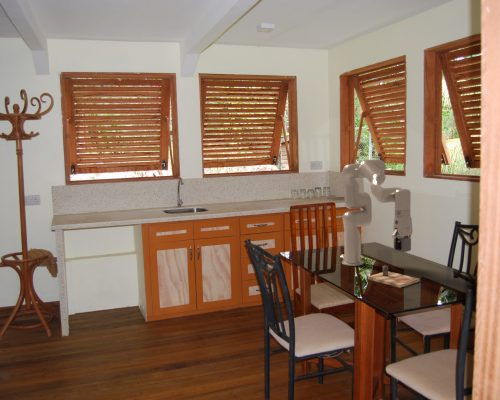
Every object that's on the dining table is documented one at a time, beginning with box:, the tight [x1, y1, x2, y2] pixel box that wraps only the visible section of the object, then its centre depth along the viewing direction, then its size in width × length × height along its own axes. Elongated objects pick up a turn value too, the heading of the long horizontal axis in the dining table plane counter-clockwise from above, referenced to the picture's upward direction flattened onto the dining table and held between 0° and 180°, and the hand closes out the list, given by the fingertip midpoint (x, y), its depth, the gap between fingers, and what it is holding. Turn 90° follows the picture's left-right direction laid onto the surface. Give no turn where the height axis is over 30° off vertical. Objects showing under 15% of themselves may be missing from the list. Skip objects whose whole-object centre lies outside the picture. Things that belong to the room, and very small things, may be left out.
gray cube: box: [393, 237, 412, 253], centre depth 245 cm, size 6×6×6 cm
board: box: [367, 265, 420, 289], centre depth 252 cm, size 20×16×6 cm
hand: (402, 248), depth 246 cm, fingers closed on gray cube, 6 cm apart
